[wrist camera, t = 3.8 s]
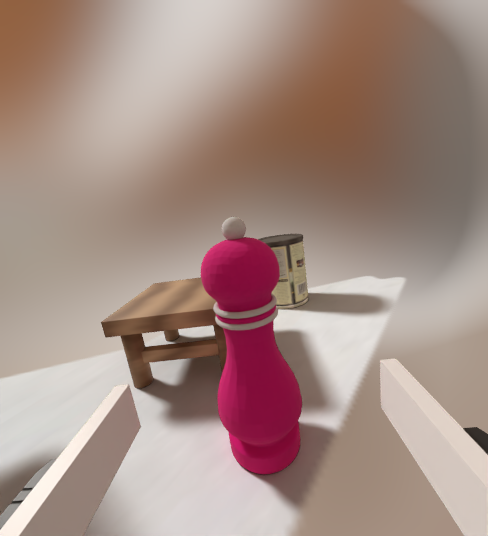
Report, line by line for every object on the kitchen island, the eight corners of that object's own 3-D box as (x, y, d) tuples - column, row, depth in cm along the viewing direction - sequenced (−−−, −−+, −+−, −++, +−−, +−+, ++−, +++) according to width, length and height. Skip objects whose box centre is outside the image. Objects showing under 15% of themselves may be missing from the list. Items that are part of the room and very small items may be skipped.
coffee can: (267, 292, 61) (260, 236, 58) (310, 291, 58) (305, 232, 55) (256, 309, 52) (247, 243, 49) (306, 309, 49) (300, 238, 45)
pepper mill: (317, 475, 19) (292, 209, 14) (224, 489, 19) (170, 226, 14) (295, 403, 26) (273, 210, 22) (227, 414, 26) (191, 222, 21)
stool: (122, 394, 31) (101, 322, 29) (165, 333, 47) (154, 283, 45) (246, 382, 30) (234, 306, 28) (248, 323, 46) (241, 272, 44)
